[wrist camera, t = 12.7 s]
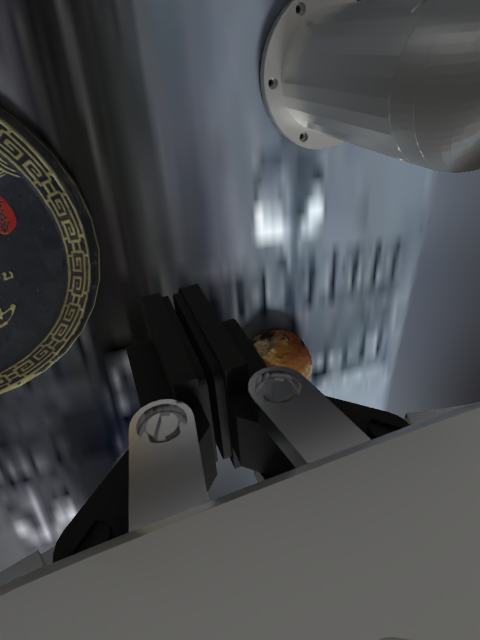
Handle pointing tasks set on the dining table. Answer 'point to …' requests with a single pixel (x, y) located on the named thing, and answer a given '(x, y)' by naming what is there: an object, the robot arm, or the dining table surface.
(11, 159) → the decorative plate
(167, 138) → the dining table surface
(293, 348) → the bread roll
